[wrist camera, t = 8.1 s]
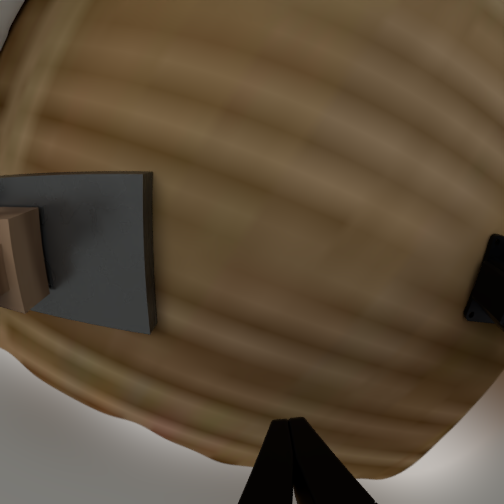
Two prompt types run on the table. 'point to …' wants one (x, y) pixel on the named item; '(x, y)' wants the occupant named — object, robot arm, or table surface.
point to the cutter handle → (21, 259)
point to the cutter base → (93, 244)
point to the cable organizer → (7, 16)
